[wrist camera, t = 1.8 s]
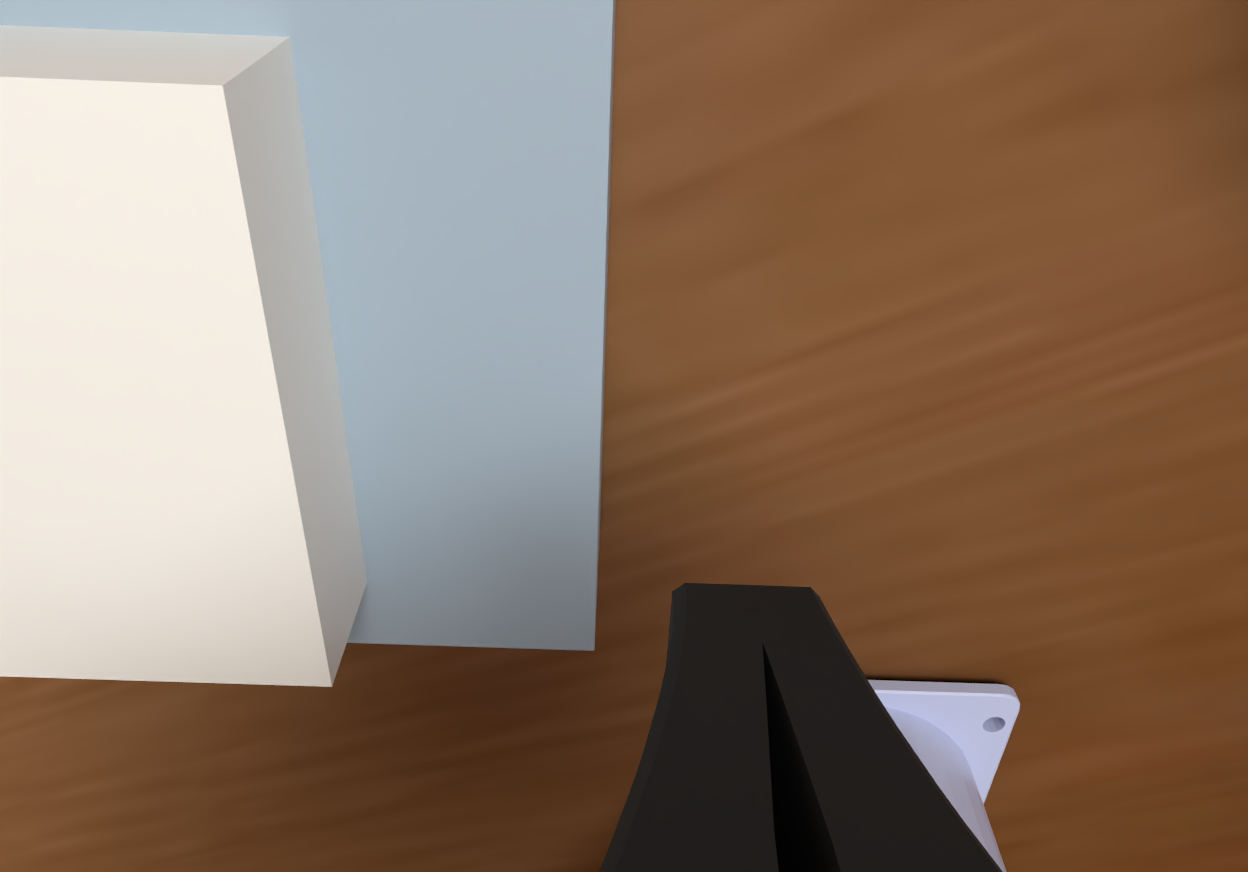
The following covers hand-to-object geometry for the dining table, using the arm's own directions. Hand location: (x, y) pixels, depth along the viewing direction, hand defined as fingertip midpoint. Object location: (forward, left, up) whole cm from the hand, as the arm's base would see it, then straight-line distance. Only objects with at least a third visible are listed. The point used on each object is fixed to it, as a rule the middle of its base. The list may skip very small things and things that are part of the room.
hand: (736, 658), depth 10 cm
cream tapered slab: (0, +9, -5) cm, 10 cm away
